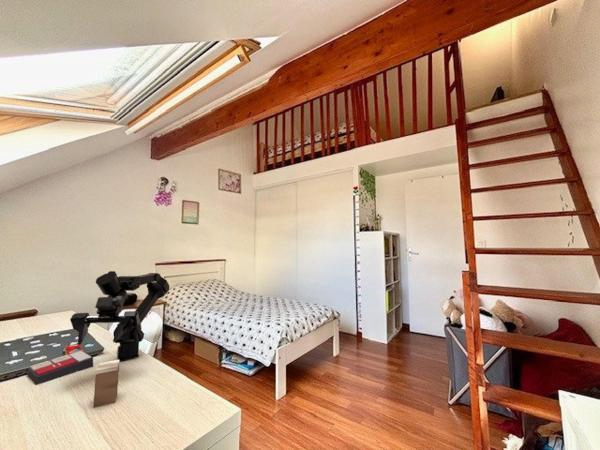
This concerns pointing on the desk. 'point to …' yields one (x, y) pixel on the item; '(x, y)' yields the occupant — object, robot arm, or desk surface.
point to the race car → (72, 349)
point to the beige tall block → (106, 383)
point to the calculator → (59, 367)
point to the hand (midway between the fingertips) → (96, 342)
